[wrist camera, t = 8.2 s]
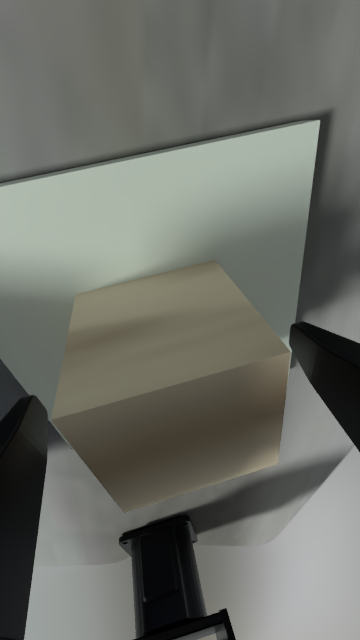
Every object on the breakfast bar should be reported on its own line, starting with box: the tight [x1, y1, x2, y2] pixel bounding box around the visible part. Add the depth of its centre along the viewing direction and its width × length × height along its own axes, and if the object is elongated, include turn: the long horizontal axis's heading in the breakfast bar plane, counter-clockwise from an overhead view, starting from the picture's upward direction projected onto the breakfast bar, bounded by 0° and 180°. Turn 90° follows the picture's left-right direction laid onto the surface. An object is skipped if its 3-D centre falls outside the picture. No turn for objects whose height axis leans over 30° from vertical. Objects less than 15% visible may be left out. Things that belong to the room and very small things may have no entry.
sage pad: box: [0, 120, 320, 449], centre depth 11 cm, size 12×12×1 cm
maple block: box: [51, 260, 291, 513], centre depth 9 cm, size 5×5×5 cm
